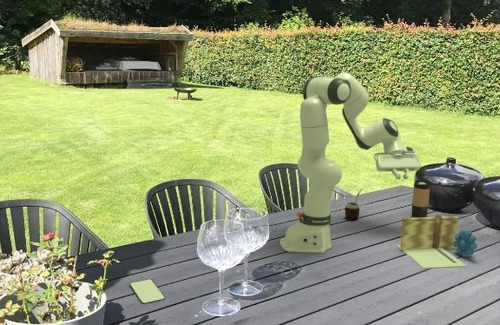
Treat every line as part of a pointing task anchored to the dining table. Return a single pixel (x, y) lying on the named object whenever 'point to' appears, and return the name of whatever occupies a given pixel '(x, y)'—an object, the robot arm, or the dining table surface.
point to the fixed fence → (445, 231)
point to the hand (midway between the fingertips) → (402, 178)
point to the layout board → (432, 257)
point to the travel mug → (420, 199)
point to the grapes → (465, 243)
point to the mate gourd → (352, 210)
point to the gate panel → (417, 232)
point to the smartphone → (147, 291)
